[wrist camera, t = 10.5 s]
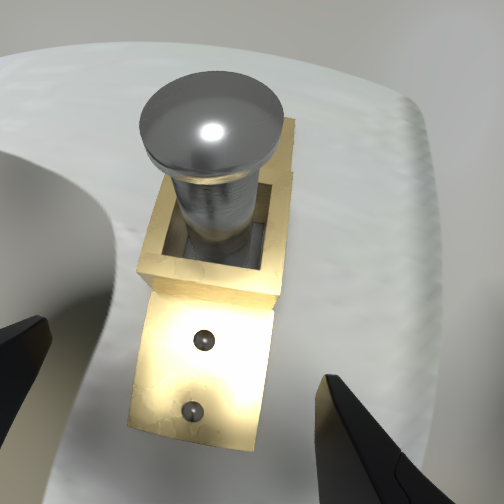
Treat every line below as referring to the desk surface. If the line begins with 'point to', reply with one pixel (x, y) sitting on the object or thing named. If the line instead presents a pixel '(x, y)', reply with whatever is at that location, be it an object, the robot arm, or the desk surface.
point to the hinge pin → (214, 155)
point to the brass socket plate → (210, 321)
